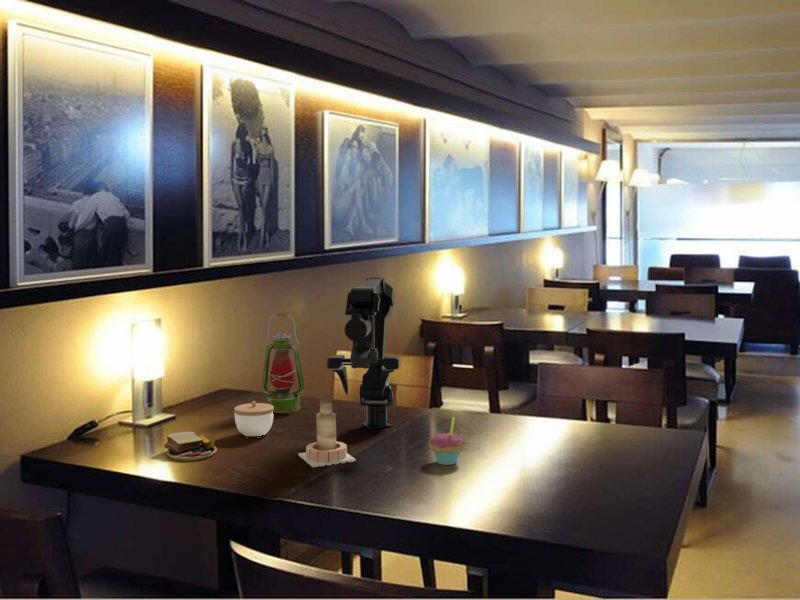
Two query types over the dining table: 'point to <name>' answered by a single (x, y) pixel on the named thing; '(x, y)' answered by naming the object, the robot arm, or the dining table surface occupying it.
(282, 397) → the lantern
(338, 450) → the ring
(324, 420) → the pepper mill
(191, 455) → the toy sandwich meal
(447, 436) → the cupcake
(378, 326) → the robot arm
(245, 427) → the lidded jar
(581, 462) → the dining table surface
